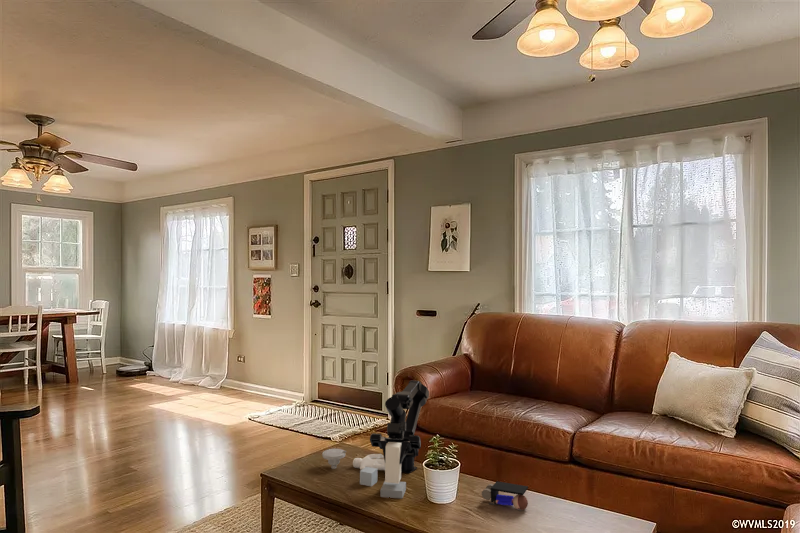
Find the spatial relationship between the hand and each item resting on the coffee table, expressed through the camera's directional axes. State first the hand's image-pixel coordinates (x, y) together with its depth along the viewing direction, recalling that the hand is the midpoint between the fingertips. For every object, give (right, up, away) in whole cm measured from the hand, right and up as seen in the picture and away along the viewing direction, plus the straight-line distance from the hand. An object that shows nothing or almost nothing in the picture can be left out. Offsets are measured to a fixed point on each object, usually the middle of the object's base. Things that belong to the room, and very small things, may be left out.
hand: (392, 463), depth 181 cm
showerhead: (-24, -12, +25) cm, 37 cm away
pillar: (0, -7, +1) cm, 7 cm away
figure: (-7, -12, +23) cm, 27 cm away
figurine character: (+39, -11, -10) cm, 42 cm away
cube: (-9, -12, +10) cm, 18 cm away
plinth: (0, -12, +1) cm, 12 cm away
